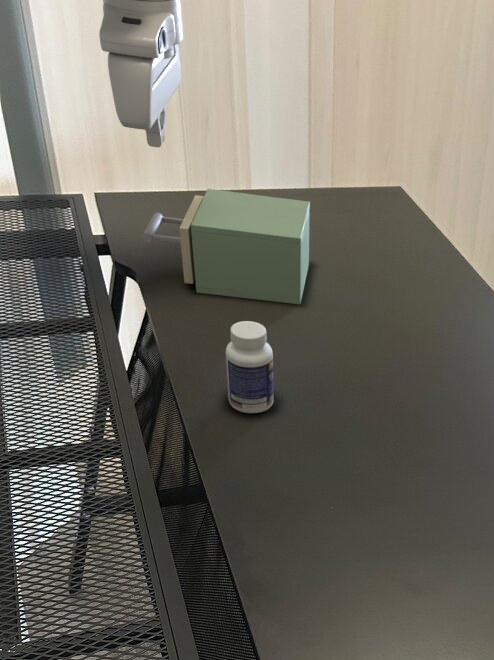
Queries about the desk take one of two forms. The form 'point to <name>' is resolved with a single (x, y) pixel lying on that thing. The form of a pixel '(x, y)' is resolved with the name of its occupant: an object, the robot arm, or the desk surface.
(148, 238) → the drawer
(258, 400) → the pill bottle
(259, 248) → the green drawer cabinet
